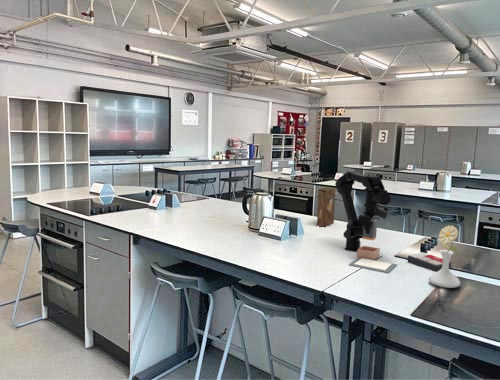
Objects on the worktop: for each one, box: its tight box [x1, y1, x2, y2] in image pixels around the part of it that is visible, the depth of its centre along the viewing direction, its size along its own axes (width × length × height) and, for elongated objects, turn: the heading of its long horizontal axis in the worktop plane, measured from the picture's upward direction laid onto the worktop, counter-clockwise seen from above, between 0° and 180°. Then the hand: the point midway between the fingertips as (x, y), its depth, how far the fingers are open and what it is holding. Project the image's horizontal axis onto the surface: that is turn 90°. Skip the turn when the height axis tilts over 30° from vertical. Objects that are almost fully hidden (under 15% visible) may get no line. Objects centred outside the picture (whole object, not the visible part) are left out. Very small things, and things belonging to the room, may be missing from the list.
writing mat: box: [348, 257, 398, 274], centre depth 175 cm, size 18×14×1 cm
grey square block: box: [362, 217, 378, 241], centre depth 187 cm, size 5×5×10 cm
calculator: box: [407, 252, 452, 273], centre depth 177 cm, size 11×4×15 cm
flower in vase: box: [428, 225, 461, 289], centre depth 150 cm, size 13×11×25 cm
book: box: [316, 187, 336, 228], centre depth 258 cm, size 16×6×25 cm, turn 144°
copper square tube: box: [356, 245, 381, 260], centre depth 188 cm, size 8×8×4 cm
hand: (369, 232), depth 187 cm, fingers closed on grey square block, 5 cm apart
